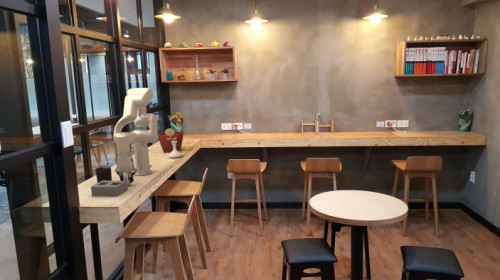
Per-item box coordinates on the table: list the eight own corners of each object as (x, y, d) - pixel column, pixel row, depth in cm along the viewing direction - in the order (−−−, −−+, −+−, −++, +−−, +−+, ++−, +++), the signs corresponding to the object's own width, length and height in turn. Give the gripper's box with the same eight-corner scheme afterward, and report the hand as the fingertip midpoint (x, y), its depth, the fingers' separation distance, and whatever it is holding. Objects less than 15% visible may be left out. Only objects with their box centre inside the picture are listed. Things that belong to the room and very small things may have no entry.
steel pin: (126, 184, 217) (124, 168, 215) (132, 184, 216) (130, 168, 214) (122, 186, 213) (121, 169, 211) (128, 186, 212) (127, 169, 210)
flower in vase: (183, 155, 294) (181, 127, 289) (179, 158, 283) (177, 129, 278) (169, 155, 295) (166, 127, 291) (164, 159, 284) (162, 129, 280)
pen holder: (108, 180, 228) (106, 166, 226) (115, 182, 222) (113, 168, 220) (94, 184, 221) (92, 169, 219) (101, 186, 215) (99, 171, 213)
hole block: (103, 189, 210) (102, 180, 209) (127, 189, 207) (126, 180, 206) (91, 195, 198) (90, 186, 197) (117, 196, 196) (116, 187, 195)
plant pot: (165, 149, 325) (163, 131, 322) (184, 148, 324) (183, 131, 321) (159, 153, 306) (157, 135, 303) (180, 153, 305) (178, 134, 302)
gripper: (139, 152, 213) (142, 180, 217) (114, 152, 216) (117, 180, 219) (134, 155, 206) (137, 184, 209) (108, 155, 209) (111, 183, 212)
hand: (127, 181), depth 214 cm, fingers open, 5 cm apart
